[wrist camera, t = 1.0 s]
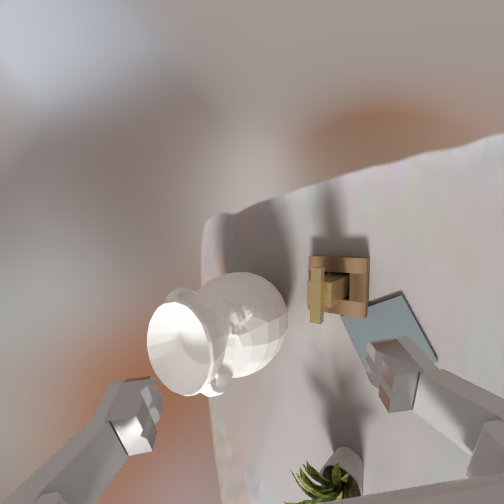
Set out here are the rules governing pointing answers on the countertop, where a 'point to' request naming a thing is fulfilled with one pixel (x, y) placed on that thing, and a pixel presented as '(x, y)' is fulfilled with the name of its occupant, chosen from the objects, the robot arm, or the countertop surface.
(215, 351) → the white vase
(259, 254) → the countertop surface
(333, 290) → the t key
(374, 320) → the slate mat
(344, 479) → the house plant
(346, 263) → the socket block
